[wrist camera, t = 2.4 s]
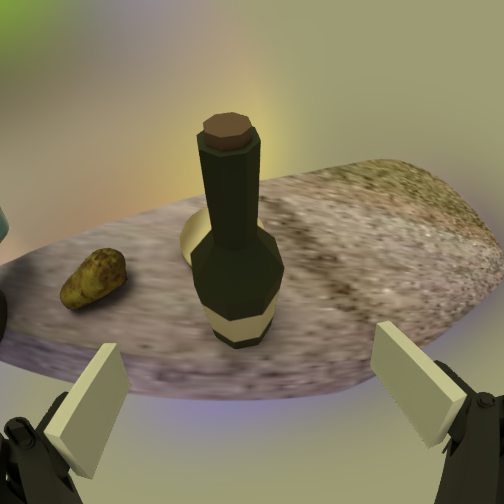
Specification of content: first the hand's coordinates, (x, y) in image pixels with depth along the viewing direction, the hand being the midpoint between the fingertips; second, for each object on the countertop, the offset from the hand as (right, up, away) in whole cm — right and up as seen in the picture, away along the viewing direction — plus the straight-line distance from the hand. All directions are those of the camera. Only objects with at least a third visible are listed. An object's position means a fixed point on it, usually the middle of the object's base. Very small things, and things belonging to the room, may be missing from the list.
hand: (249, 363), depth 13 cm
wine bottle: (-1, -4, +26) cm, 26 cm away
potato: (-24, -1, +28) cm, 37 cm away
